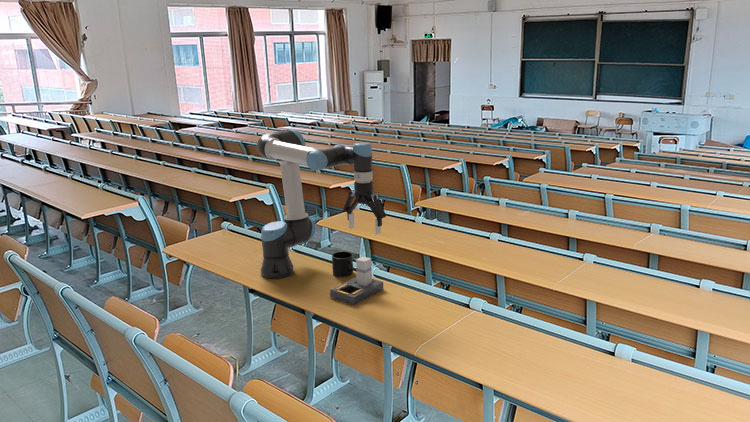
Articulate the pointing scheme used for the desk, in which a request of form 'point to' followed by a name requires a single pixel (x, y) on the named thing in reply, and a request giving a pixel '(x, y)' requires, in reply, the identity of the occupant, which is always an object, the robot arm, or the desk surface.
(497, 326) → the desk surface
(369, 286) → the jack panel
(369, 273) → the plug
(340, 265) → the mug
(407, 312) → the desk surface
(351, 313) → the desk surface
